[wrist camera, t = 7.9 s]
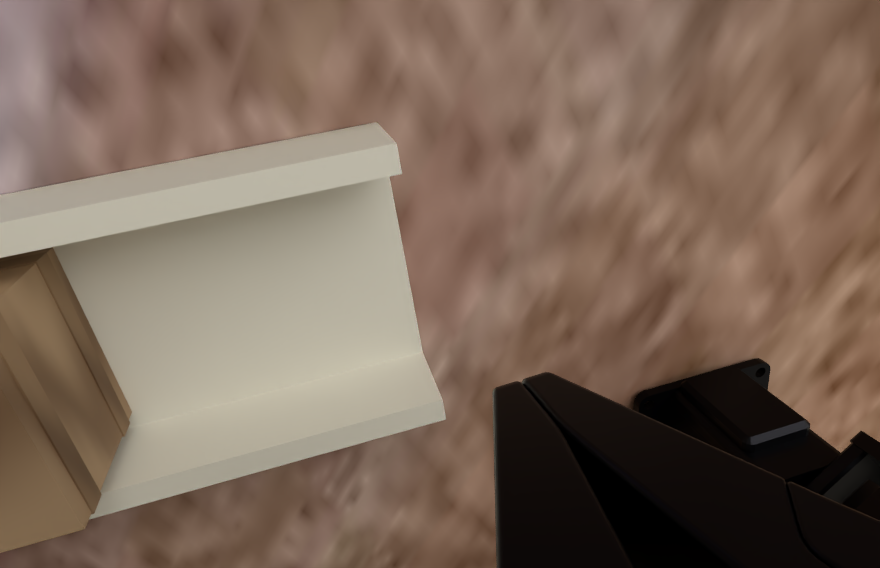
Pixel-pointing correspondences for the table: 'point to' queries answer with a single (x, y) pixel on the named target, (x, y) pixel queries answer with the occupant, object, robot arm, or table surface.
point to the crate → (51, 404)
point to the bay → (241, 305)
